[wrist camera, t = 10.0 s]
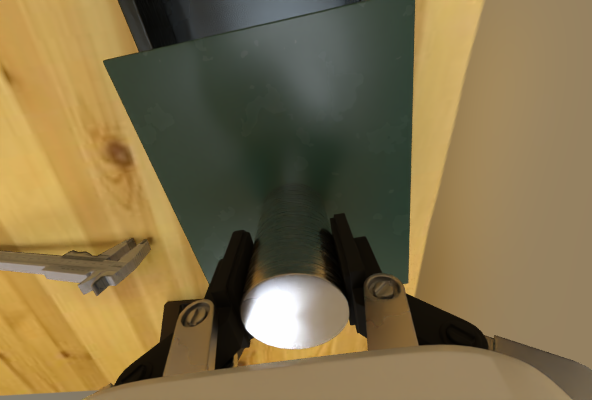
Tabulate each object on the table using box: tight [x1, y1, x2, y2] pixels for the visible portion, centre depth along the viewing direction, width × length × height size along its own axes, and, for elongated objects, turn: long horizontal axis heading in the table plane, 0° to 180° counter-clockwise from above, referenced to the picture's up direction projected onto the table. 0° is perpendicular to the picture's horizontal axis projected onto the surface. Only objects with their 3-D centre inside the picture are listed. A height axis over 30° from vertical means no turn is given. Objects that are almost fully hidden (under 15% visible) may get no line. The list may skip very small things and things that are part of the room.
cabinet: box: [103, 0, 415, 285], centre depth 18 cm, size 18×15×7 cm
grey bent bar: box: [0, 238, 151, 296], centre depth 22 cm, size 20×1×6 cm, turn 93°
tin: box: [240, 183, 350, 349], centre depth 12 cm, size 4×4×8 cm
